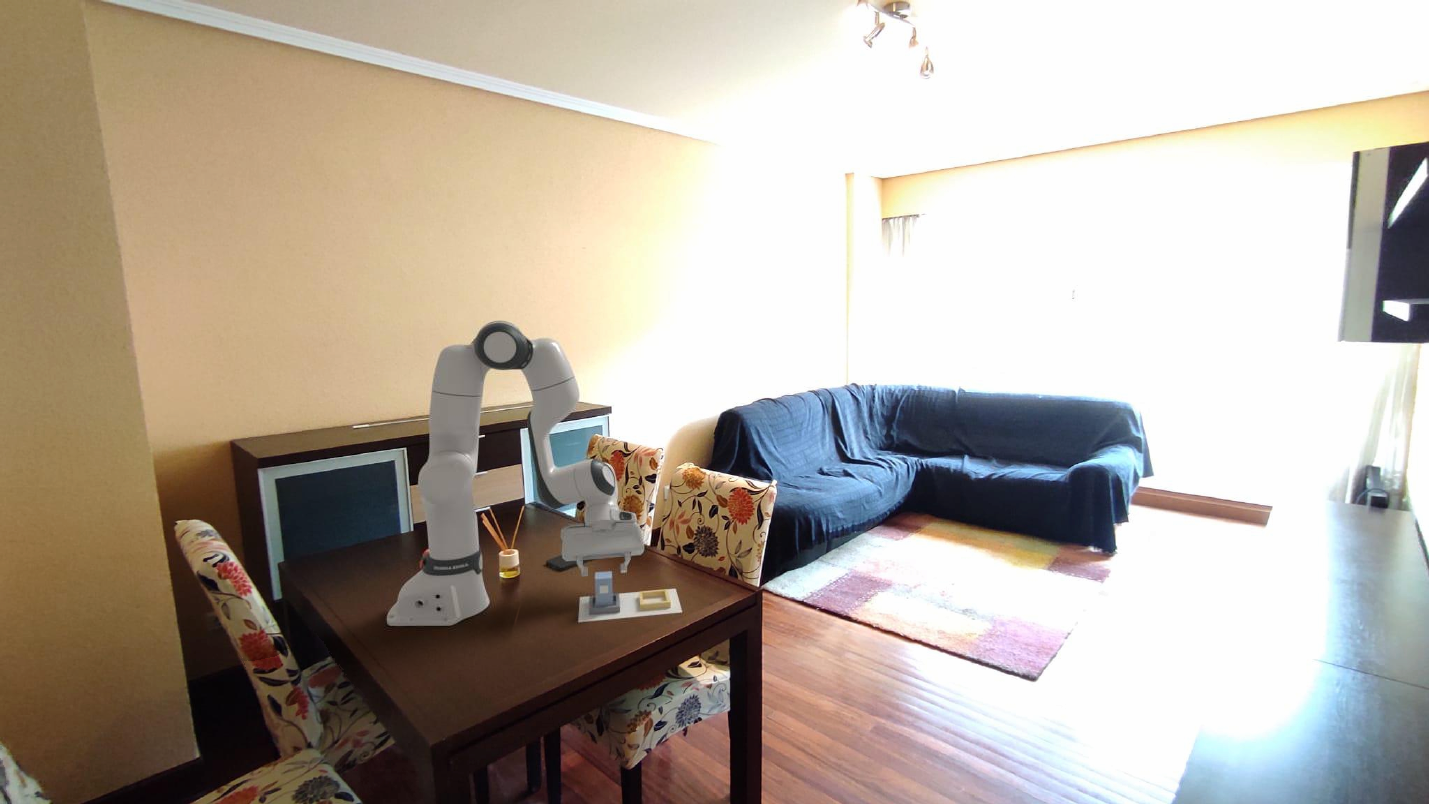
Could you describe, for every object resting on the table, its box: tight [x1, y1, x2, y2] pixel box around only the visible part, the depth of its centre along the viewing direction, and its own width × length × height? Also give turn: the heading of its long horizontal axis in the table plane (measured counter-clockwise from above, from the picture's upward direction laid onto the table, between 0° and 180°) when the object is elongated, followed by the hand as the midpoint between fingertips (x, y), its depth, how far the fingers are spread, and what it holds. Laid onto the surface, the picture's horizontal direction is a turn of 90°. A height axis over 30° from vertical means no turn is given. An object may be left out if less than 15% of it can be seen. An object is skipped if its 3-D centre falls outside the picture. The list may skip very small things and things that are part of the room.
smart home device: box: [545, 554, 595, 572], centre depth 181 cm, size 8×2×20 cm
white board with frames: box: [577, 588, 683, 623], centre depth 150 cm, size 24×13×2 cm, turn 101°
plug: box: [594, 570, 614, 607], centre depth 148 cm, size 4×5×8 cm
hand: (604, 573), depth 151 cm, fingers open, 8 cm apart
